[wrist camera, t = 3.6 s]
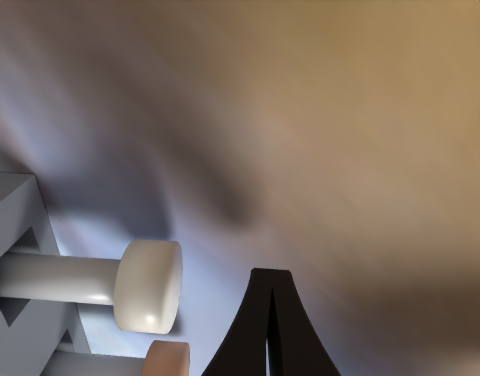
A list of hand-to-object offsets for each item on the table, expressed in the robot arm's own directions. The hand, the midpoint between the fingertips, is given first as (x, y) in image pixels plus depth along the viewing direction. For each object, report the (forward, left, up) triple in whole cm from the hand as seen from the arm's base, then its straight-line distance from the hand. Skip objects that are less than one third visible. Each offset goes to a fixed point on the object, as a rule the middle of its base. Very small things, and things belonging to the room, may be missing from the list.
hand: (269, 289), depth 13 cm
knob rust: (-7, -6, -1) cm, 9 cm away
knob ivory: (-7, 0, -1) cm, 7 cm away
